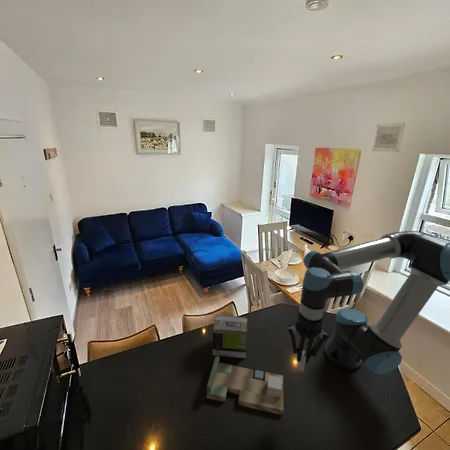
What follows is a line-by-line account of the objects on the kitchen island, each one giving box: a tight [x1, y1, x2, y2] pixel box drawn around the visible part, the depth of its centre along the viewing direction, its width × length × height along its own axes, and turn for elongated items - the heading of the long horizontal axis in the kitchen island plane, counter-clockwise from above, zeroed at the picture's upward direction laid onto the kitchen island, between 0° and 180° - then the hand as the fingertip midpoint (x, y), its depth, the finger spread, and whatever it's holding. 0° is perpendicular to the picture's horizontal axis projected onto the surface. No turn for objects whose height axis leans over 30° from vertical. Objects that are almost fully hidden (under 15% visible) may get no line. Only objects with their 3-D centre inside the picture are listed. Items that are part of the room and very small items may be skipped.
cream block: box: [267, 375, 282, 398], centre depth 96 cm, size 5×5×4 cm
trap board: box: [206, 355, 284, 416], centre depth 98 cm, size 28×14×6 cm, turn 78°
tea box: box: [212, 314, 248, 359], centre depth 115 cm, size 15×10×15 cm
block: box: [254, 369, 264, 381], centre depth 103 cm, size 3×3×3 cm
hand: (301, 367), depth 91 cm, fingers closed
